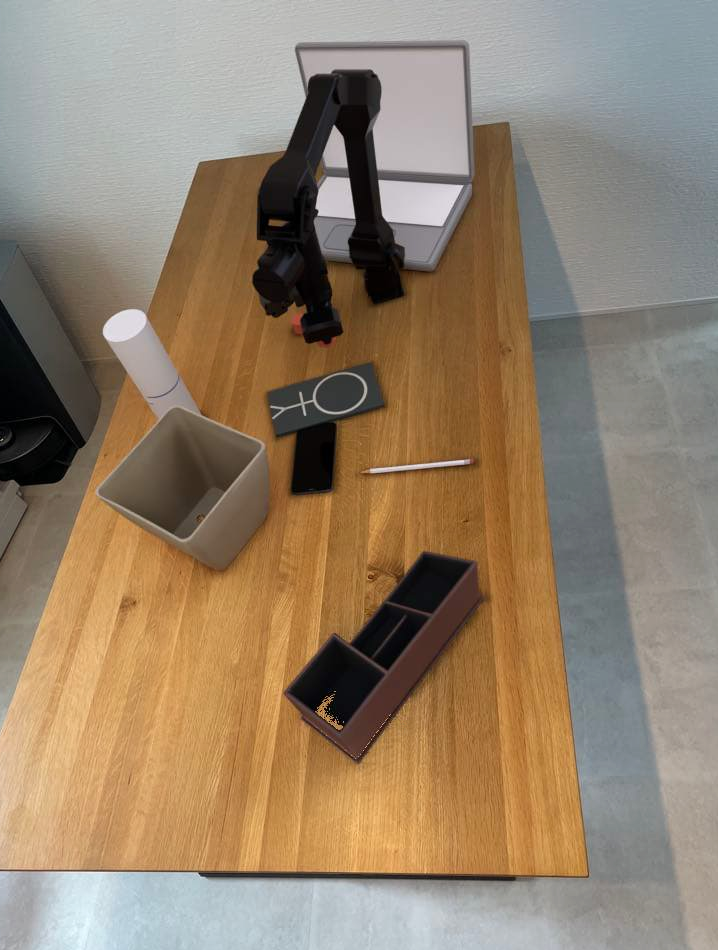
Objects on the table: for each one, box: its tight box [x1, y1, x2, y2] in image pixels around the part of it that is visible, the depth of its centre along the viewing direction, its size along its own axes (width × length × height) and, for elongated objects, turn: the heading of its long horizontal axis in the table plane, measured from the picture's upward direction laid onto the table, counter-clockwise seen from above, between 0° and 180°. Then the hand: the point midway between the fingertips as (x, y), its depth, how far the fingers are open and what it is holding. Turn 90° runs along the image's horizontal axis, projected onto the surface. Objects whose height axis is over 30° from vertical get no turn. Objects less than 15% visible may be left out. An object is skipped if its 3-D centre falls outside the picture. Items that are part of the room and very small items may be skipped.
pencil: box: [360, 458, 475, 475], centre depth 111 cm, size 1×19×1 cm, turn 89°
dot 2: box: [316, 337, 337, 349], centre depth 117 cm, size 3×3×2 cm
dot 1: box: [290, 313, 304, 335], centre depth 134 cm, size 3×3×2 cm
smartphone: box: [290, 422, 338, 496], centre depth 117 cm, size 7×1×15 cm
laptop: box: [294, 39, 476, 273], centre depth 135 cm, size 36×28×29 cm
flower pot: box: [94, 405, 271, 572], centre depth 106 cm, size 19×19×17 cm
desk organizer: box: [283, 550, 486, 766], centre depth 91 cm, size 10×29×11 cm, turn 141°
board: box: [266, 361, 386, 439], centre depth 123 cm, size 20×11×1 cm, turn 101°
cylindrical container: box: [102, 308, 202, 421], centre depth 116 cm, size 7×7×25 cm
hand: (326, 336), depth 117 cm, fingers closed on dot 2, 3 cm apart
